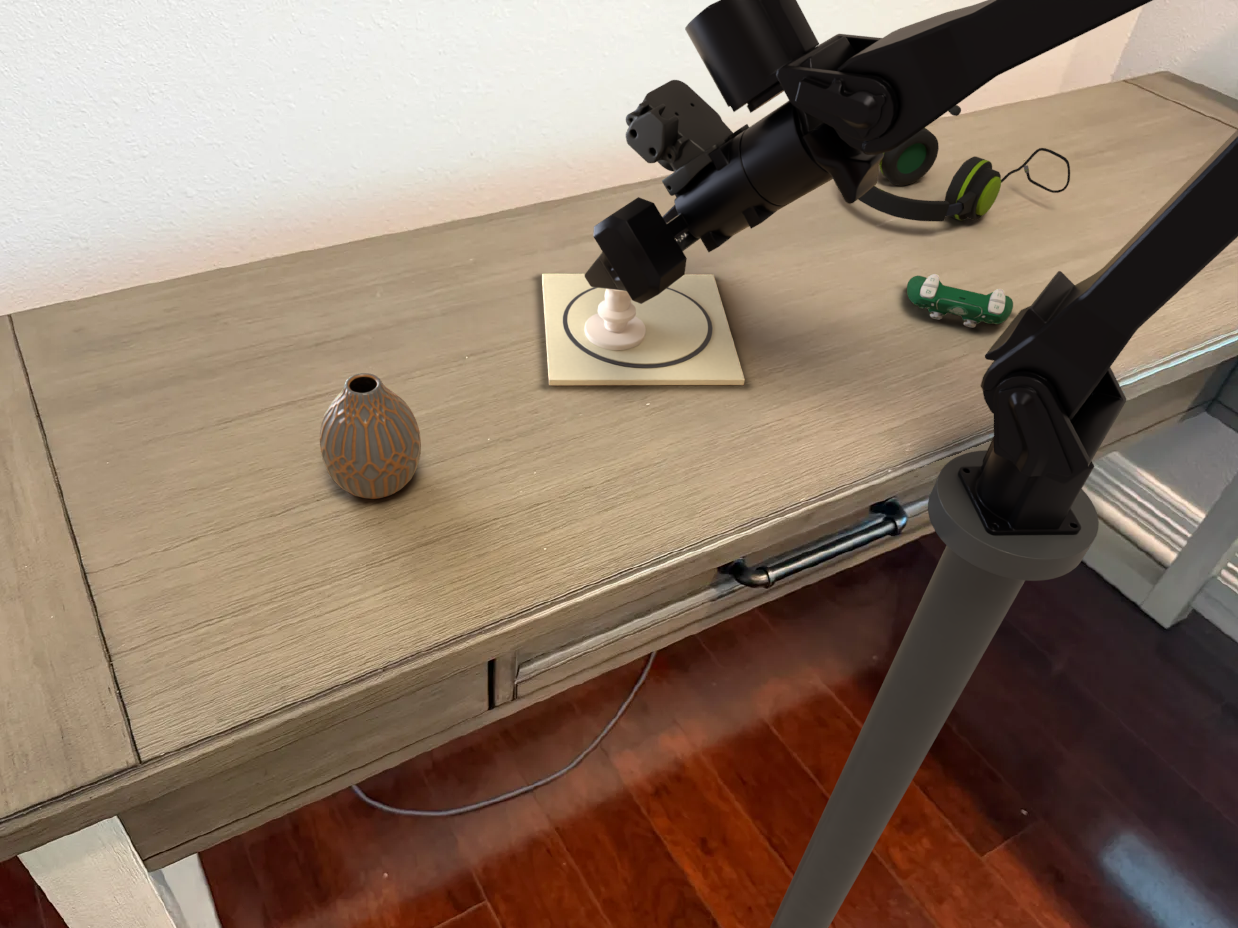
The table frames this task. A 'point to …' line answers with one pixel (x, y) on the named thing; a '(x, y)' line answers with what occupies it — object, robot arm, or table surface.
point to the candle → (615, 323)
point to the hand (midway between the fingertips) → (622, 256)
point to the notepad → (669, 354)
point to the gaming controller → (958, 301)
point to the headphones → (965, 193)
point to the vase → (369, 439)
